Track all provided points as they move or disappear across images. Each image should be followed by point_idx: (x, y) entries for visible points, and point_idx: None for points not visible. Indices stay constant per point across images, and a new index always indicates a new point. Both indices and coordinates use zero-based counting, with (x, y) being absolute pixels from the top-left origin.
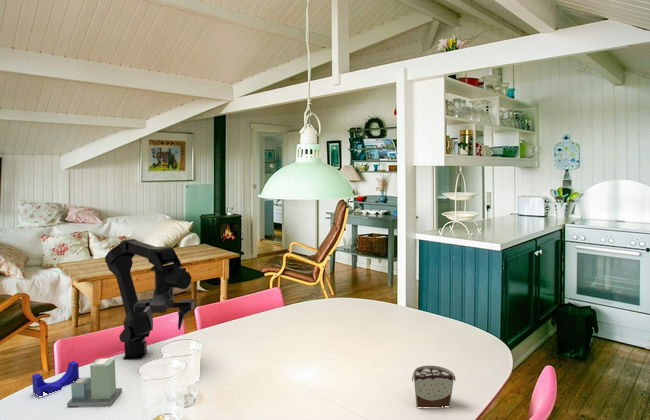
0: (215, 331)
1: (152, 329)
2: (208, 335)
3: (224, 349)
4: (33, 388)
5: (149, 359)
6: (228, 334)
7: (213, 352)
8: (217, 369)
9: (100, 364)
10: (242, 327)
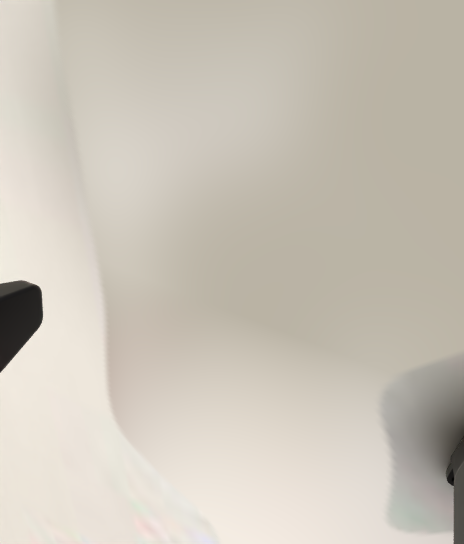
0: (107, 521)
1: (460, 473)
2: (129, 500)
3: None
4: None
5: (437, 365)
6: (49, 468)
7: (73, 311)
8: (4, 66)
9: None
10: (12, 500)
